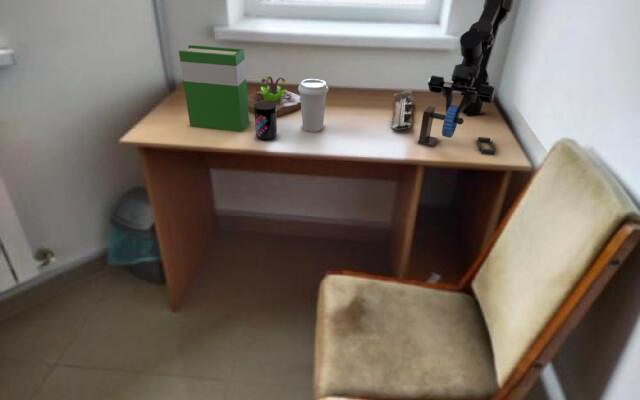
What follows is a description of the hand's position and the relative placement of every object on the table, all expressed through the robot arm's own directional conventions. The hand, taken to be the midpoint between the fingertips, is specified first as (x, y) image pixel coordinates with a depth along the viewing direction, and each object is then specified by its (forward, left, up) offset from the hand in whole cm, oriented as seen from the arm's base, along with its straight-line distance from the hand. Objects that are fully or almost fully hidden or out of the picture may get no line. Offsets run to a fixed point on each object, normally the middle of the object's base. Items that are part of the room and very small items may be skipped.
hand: (451, 115), depth 128 cm
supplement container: (+51, -21, -11) cm, 56 cm away
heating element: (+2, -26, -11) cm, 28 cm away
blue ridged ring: (-1, -1, -3) cm, 3 cm away
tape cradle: (-13, +3, -11) cm, 17 cm away
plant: (+44, -46, -11) cm, 65 cm away
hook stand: (+1, -3, -11) cm, 11 cm away
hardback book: (+64, -34, -11) cm, 73 cm away
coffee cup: (+35, -24, -11) cm, 44 cm away
